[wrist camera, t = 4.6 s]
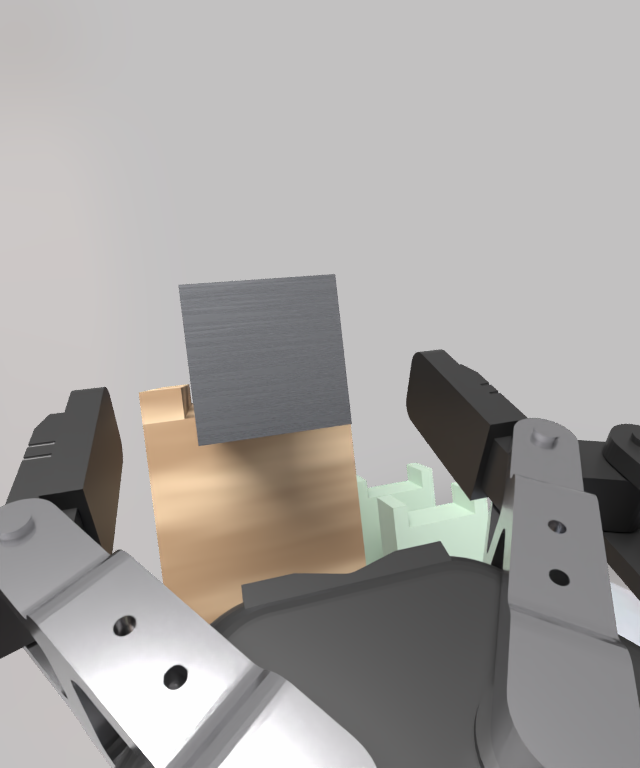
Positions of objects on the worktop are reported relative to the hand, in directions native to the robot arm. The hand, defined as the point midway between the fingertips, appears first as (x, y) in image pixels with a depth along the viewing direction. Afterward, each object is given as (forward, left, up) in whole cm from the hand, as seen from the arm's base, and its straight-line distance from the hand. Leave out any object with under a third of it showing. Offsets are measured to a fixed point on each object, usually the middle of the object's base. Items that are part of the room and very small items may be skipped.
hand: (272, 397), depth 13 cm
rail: (-2, -9, -1) cm, 9 cm away
